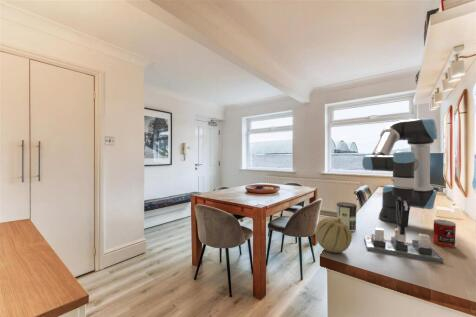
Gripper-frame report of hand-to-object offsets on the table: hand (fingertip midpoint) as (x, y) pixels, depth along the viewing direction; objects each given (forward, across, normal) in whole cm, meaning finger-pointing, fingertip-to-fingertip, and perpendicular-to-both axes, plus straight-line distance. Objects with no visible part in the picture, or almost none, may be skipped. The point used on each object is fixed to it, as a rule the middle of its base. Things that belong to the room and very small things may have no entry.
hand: (401, 241), depth 95 cm
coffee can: (+6, -24, -21) cm, 33 cm away
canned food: (+6, -20, +21) cm, 30 cm away
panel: (+5, -3, 0) cm, 6 cm away
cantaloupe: (+5, +12, -27) cm, 30 cm away
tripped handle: (+1, -3, 0) cm, 4 cm away
